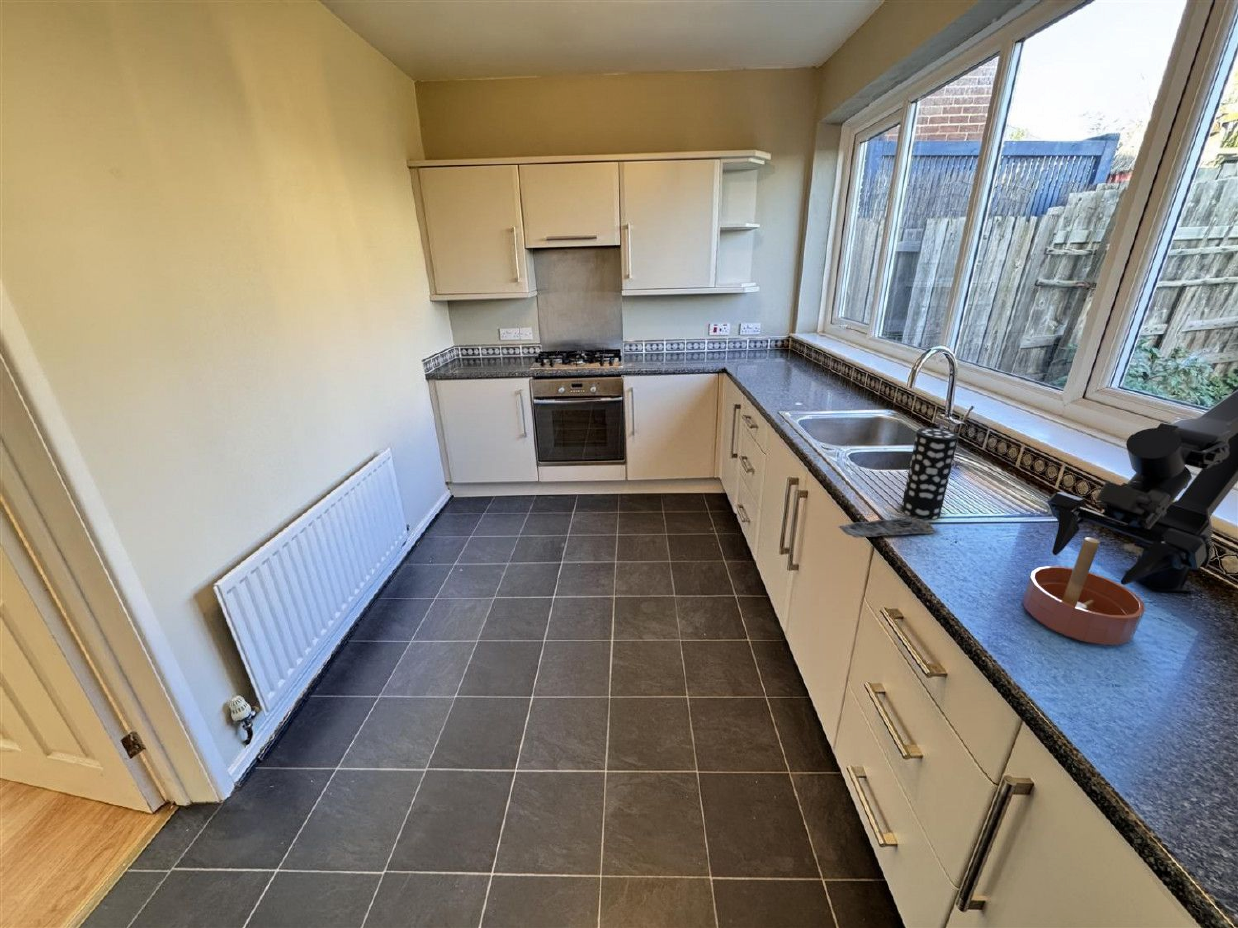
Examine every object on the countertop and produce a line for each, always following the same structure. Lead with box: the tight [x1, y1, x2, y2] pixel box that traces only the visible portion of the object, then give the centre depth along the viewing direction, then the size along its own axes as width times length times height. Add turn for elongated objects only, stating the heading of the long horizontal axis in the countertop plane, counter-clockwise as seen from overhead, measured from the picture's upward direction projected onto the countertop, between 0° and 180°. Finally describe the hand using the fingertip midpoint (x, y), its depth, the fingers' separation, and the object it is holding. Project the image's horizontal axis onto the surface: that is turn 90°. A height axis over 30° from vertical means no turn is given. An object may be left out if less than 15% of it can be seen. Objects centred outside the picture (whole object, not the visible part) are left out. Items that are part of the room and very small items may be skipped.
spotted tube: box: [900, 427, 960, 520], centre depth 120 cm, size 8×8×20 cm
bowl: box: [1021, 565, 1146, 646], centre depth 85 cm, size 14×14×6 cm
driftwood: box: [838, 517, 937, 539], centre depth 115 cm, size 21×7×2 cm, turn 96°
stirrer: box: [1062, 536, 1101, 610], centre depth 83 cm, size 10×2×15 cm, turn 115°
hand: (1086, 567), depth 81 cm, fingers open, 9 cm apart
